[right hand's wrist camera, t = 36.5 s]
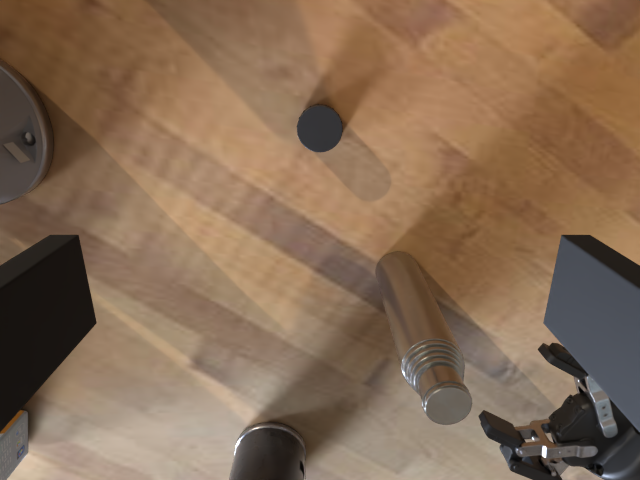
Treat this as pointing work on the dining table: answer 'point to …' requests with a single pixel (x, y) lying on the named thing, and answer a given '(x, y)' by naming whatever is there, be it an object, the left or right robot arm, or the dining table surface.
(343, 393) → the dining table surface
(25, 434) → the hard drive box
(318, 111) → the cap
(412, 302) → the bottle
